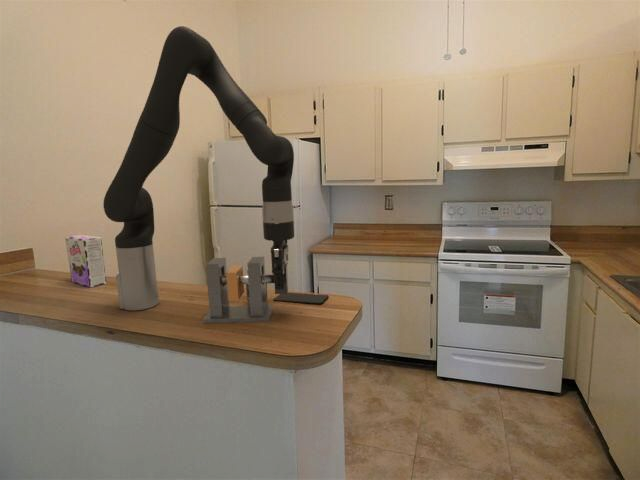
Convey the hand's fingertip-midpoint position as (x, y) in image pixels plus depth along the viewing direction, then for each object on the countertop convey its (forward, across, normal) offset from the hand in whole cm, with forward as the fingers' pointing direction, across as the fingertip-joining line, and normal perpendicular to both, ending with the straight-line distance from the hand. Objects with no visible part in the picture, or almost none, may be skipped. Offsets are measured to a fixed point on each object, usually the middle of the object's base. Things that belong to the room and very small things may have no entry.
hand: (281, 284), depth 96 cm
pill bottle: (+8, -10, -8) cm, 15 cm away
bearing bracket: (+8, 0, -11) cm, 14 cm away
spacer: (-1, 0, -12) cm, 12 cm away
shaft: (+2, 0, -8) cm, 8 cm away
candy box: (+8, -35, -71) cm, 80 cm away
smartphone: (+9, -12, +4) cm, 15 cm away
